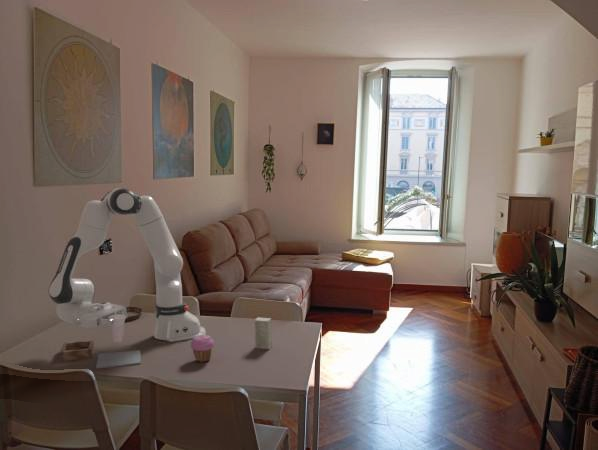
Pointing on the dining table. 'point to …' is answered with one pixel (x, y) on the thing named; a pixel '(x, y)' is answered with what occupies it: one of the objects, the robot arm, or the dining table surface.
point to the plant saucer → (133, 313)
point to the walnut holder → (77, 350)
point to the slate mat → (118, 359)
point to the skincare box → (263, 333)
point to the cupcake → (202, 347)
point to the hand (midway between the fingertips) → (119, 319)
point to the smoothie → (117, 326)
